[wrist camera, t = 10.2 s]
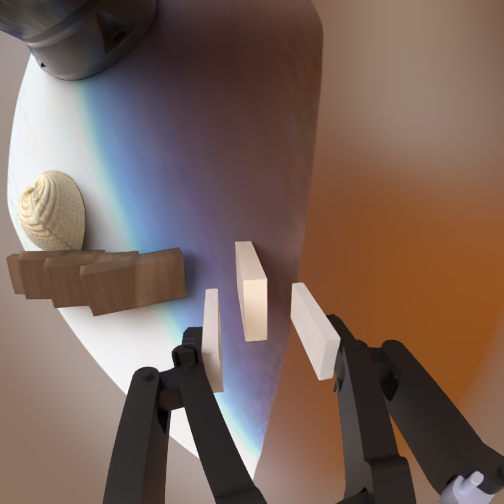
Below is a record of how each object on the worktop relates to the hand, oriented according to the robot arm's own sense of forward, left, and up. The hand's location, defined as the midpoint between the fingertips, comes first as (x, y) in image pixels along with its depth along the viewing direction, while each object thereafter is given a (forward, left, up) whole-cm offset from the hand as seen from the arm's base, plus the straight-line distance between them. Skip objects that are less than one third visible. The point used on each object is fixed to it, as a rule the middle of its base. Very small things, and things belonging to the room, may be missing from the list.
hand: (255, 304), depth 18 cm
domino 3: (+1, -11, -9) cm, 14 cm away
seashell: (-6, -21, -11) cm, 24 cm away
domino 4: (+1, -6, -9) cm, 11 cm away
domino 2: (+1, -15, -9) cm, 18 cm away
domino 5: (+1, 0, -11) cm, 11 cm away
